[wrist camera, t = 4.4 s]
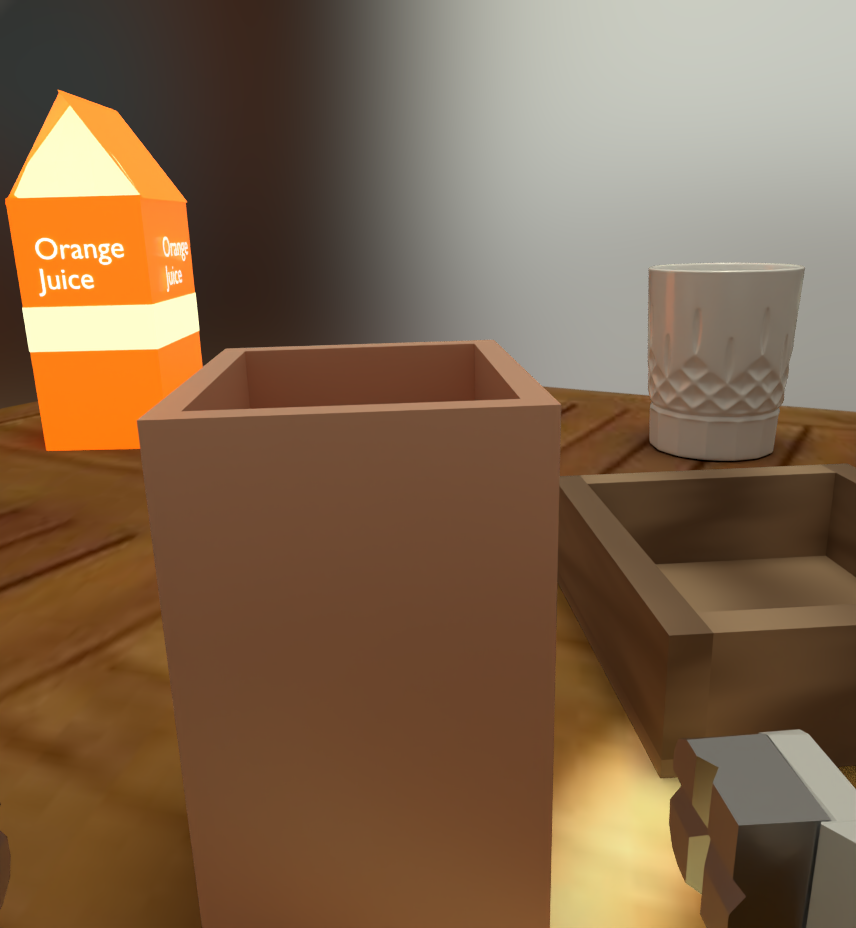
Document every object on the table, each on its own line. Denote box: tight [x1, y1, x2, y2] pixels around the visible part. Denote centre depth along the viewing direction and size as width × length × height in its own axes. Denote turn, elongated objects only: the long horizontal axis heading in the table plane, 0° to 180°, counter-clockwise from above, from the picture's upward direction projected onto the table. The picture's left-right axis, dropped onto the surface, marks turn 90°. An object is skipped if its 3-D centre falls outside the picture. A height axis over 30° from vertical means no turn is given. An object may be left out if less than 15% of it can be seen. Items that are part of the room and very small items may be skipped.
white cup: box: [648, 263, 805, 461], centre depth 45 cm, size 8×8×10 cm
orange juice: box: [6, 90, 202, 451], centre depth 50 cm, size 8×9×20 cm
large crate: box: [557, 464, 856, 778], centre depth 25 cm, size 11×12×4 cm
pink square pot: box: [137, 340, 561, 928], centre depth 16 cm, size 6×7×10 cm
